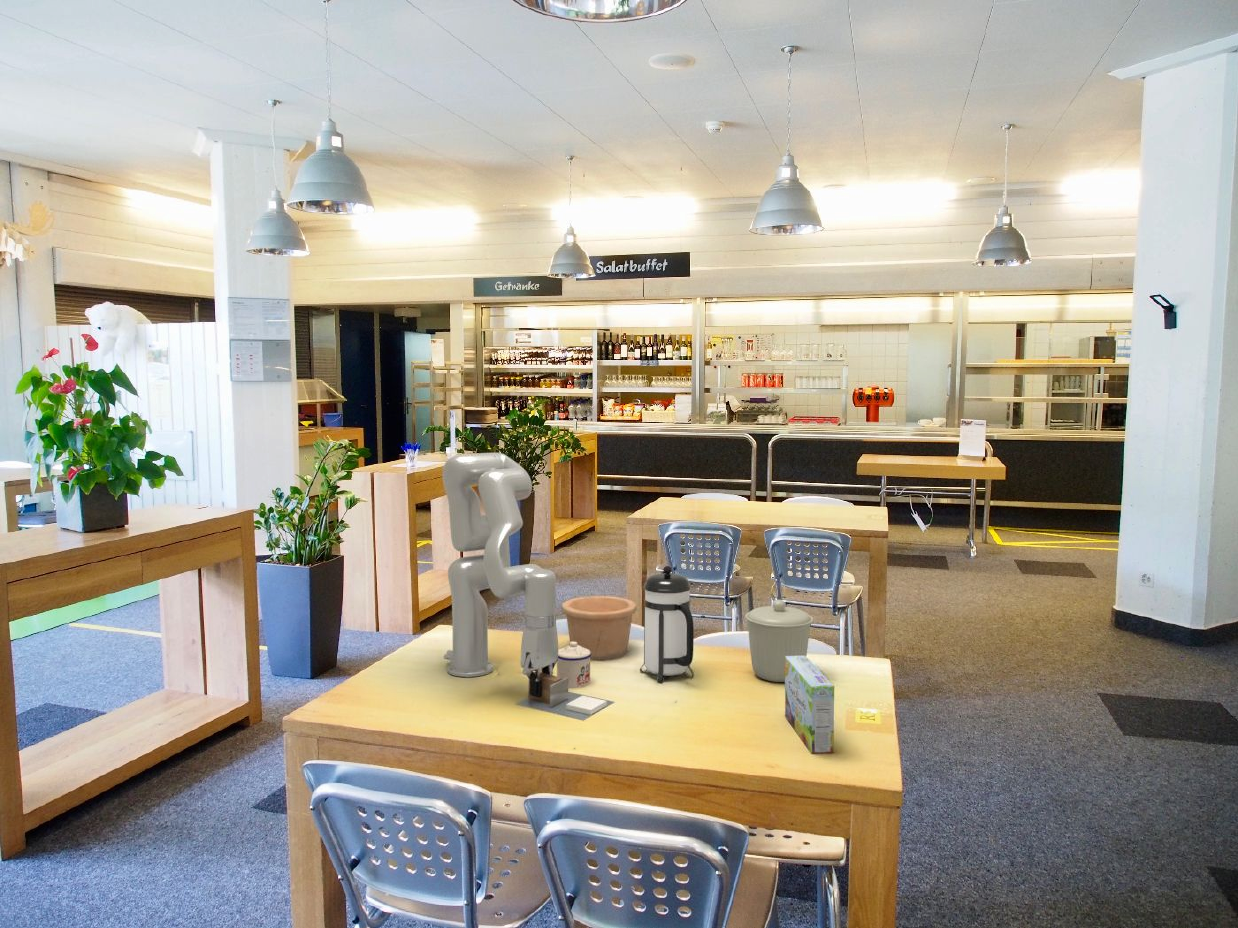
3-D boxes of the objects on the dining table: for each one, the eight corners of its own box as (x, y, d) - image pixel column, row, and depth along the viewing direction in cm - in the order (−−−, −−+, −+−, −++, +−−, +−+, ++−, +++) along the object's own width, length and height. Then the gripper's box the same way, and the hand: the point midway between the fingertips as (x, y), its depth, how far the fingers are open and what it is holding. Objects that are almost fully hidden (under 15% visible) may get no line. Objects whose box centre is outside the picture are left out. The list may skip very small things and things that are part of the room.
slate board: (514, 707, 209) (514, 703, 209) (548, 690, 221) (548, 687, 221) (583, 724, 199) (583, 720, 198) (615, 705, 211) (615, 701, 210)
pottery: (649, 648, 258) (649, 601, 257) (609, 668, 239) (610, 617, 238) (589, 637, 269) (589, 592, 268) (547, 655, 251) (547, 607, 250)
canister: (783, 692, 220) (785, 611, 218) (730, 675, 234) (731, 598, 232) (825, 677, 232) (827, 600, 230) (772, 661, 246) (773, 589, 244)
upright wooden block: (523, 700, 211) (523, 676, 210) (540, 692, 217) (540, 669, 216) (551, 707, 206) (552, 683, 206) (568, 699, 212) (568, 675, 212)
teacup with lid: (582, 693, 219) (582, 649, 218) (550, 689, 222) (550, 645, 221) (600, 679, 230) (600, 636, 229) (569, 675, 233) (569, 633, 232)
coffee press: (629, 680, 229) (630, 569, 226) (650, 663, 244) (650, 558, 241) (692, 689, 222) (693, 575, 220) (709, 670, 237) (710, 563, 235)
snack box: (782, 717, 204) (783, 654, 203) (805, 716, 204) (807, 654, 203) (809, 754, 183) (811, 685, 182) (835, 753, 183) (837, 684, 182)
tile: (566, 704, 205) (590, 709, 201) (582, 695, 211) (606, 700, 207) (566, 709, 205) (590, 715, 202) (582, 700, 211) (606, 706, 208)
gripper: (548, 611, 220) (548, 681, 221) (507, 626, 205) (507, 700, 207) (572, 615, 216) (572, 686, 217) (532, 630, 202) (532, 706, 203)
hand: (540, 692), depth 212 cm, fingers open, 3 cm apart
